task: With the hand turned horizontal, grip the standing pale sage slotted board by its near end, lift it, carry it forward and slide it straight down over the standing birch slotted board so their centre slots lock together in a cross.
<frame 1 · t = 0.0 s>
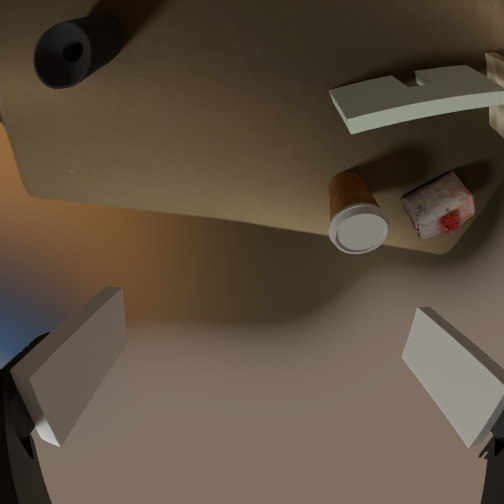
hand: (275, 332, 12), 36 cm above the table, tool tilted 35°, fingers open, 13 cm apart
disposable coffee cup: (345, 185, 49), on the table
food item: (431, 191, 48), on the table
pen holder: (99, 40, 29), on the table
sage slotted plate: (404, 78, 32), on the table
birch slotted plate: (493, 89, 29), on the table
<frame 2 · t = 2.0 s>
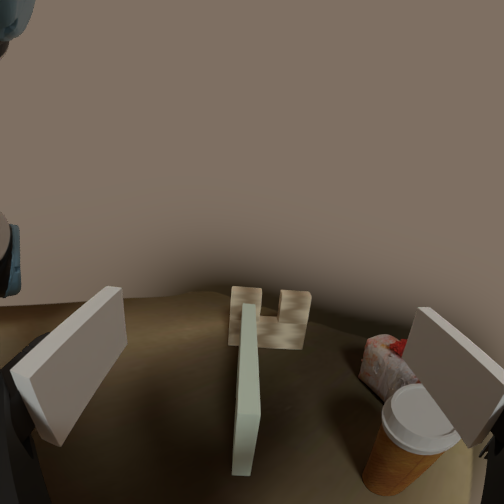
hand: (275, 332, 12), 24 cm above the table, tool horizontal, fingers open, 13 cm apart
disposable coffee cup: (385, 477, 23), on the table
food item: (388, 393, 40), on the table
sage slotted plate: (242, 407, 36), on the table
birch slotted plate: (265, 344, 54), on the table
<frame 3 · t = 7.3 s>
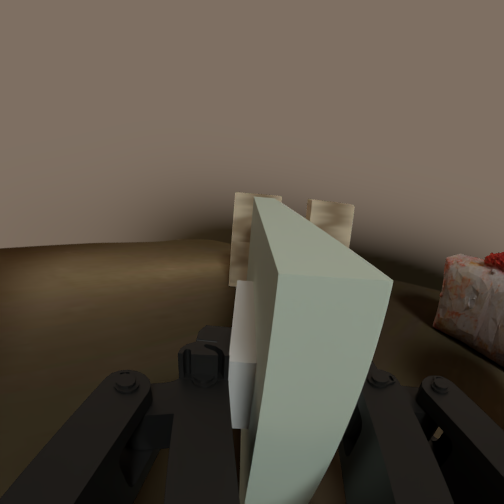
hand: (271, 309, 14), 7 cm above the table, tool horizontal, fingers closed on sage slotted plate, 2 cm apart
food item: (479, 345, 22), on the table
sage slotted plate: (257, 373, 19), on the table, touching gripper
birch slotted plate: (285, 286, 36), on the table
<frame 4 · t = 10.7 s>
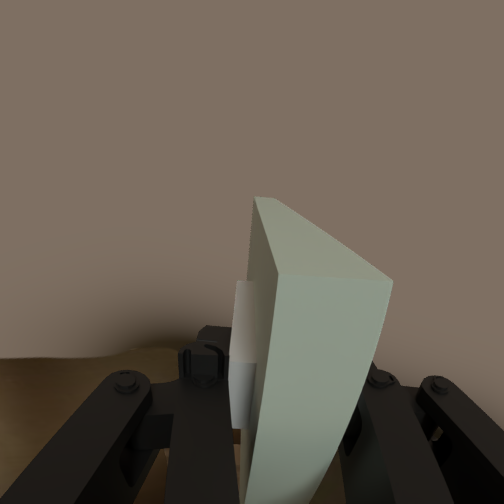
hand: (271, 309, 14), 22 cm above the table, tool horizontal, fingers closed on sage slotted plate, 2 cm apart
sage slotted plate: (257, 373, 19), point 15 cm above the table, touching gripper
when the fingers open (8 cm above the table, at t = 14.5 s): sage slotted plate drops 1 cm, on the table.
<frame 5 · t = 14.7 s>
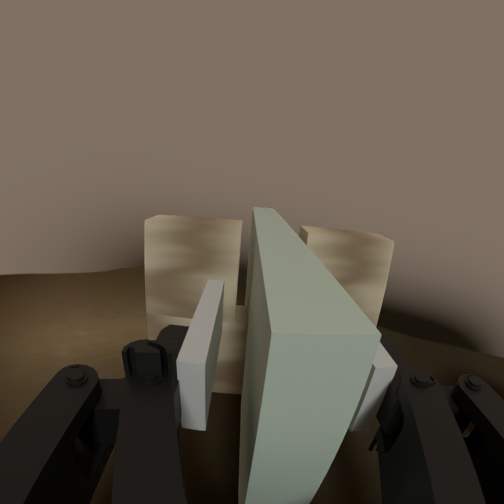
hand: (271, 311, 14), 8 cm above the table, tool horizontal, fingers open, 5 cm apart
sage slotted plate: (255, 384, 19), on the table
birch slotted plate: (255, 383, 19), on the table
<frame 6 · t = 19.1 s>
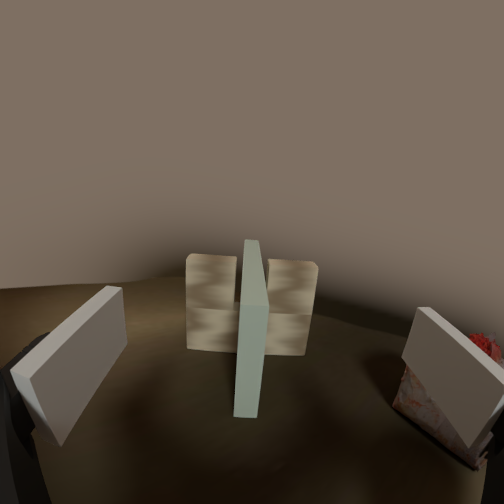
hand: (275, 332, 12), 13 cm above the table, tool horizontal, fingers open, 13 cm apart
food item: (443, 426, 19), on the table
sage slotted plate: (246, 348, 34), on the table
birch slotted plate: (246, 348, 34), on the table
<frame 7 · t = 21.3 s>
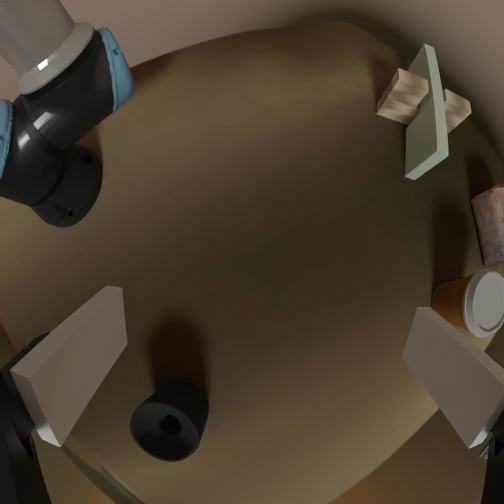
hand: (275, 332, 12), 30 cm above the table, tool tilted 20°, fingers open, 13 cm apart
disposable coffee cup: (444, 301, 40), on the table
food item: (485, 229, 42), on the table
pen holder: (182, 405, 40), on the table
sage slotted plate: (410, 121, 44), on the table
birch slotted plate: (410, 121, 44), on the table
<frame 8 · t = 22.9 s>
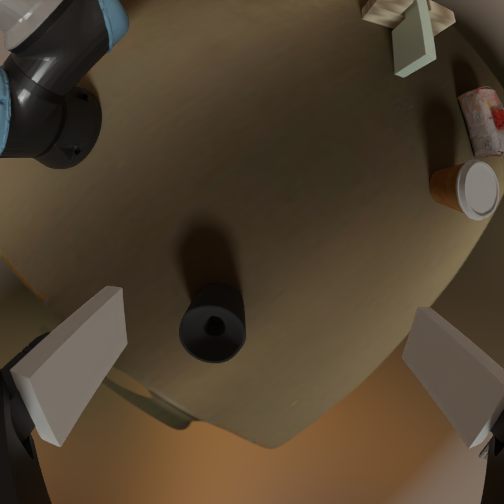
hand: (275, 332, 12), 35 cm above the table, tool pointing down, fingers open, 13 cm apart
disposable coffee cup: (441, 186, 44), on the table
food item: (473, 123, 41), on the table
pen holder: (218, 306, 49), on the table
sage slotted plate: (395, 25, 37), on the table
birch slotted plate: (395, 25, 37), on the table
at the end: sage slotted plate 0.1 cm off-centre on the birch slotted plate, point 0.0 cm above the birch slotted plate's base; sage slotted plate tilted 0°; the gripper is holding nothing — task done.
